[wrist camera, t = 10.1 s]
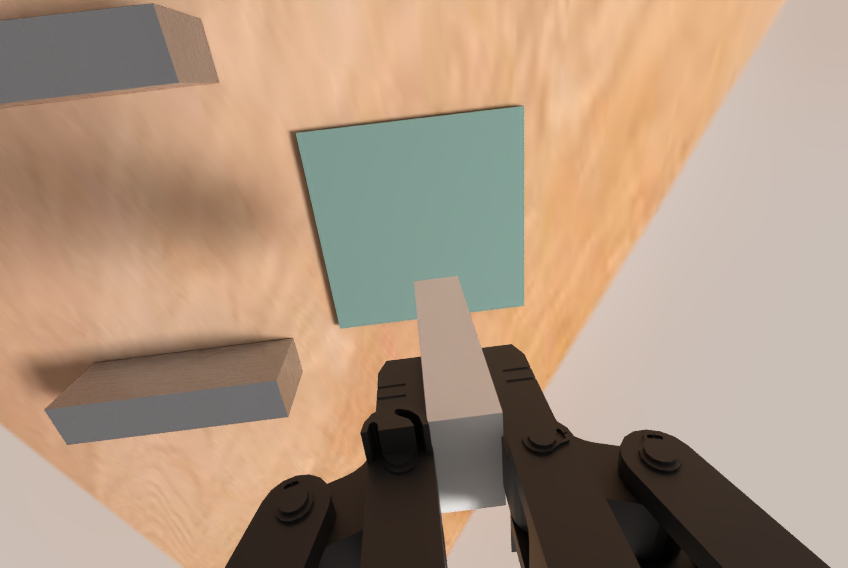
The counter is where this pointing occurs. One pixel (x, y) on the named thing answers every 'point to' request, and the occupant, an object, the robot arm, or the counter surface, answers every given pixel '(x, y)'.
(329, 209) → the mat
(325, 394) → the counter surface
